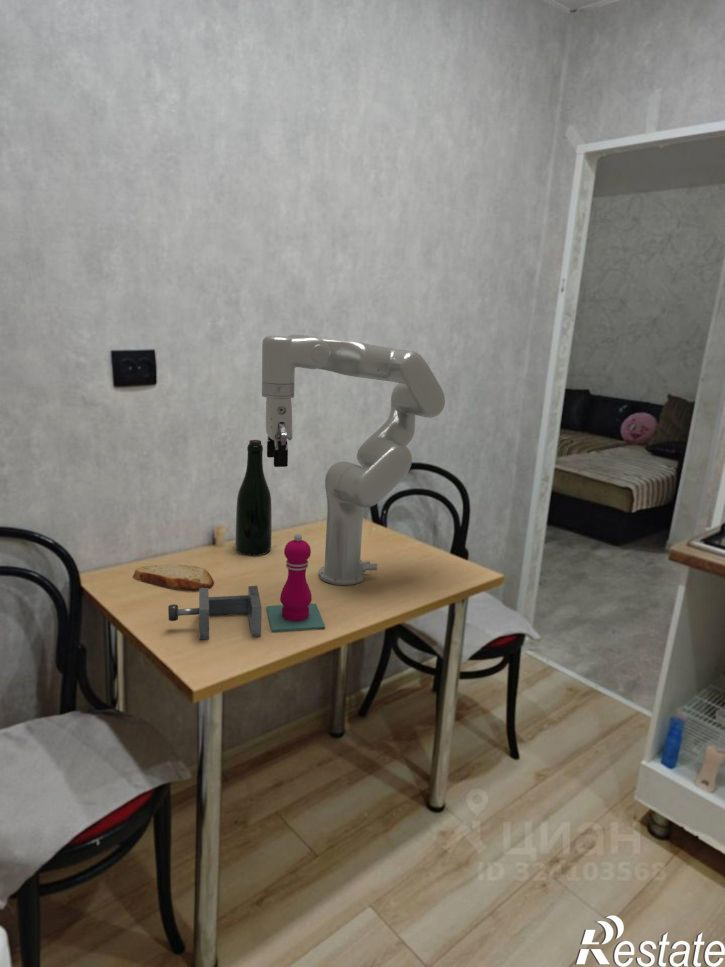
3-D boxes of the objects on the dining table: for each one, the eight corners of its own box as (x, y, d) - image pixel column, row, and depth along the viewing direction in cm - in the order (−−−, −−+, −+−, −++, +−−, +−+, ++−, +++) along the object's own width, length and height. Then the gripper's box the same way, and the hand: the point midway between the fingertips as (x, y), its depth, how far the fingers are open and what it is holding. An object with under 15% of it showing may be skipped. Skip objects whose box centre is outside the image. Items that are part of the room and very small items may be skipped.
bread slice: (129, 574, 169) (129, 561, 168) (197, 564, 178) (197, 552, 177) (145, 601, 154) (144, 587, 153) (218, 589, 163) (218, 576, 162)
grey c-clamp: (256, 610, 152) (256, 583, 150) (260, 636, 140) (261, 606, 138) (170, 615, 147) (169, 586, 145) (167, 641, 135) (167, 611, 134)
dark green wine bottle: (245, 558, 183) (246, 445, 175) (229, 547, 191) (230, 438, 183) (277, 552, 189) (280, 442, 181) (261, 541, 197) (263, 435, 189)
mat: (315, 605, 156) (316, 603, 156) (325, 628, 145) (325, 626, 145) (266, 608, 153) (266, 605, 153) (271, 632, 142) (271, 629, 142)
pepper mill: (281, 623, 145) (283, 539, 140) (278, 609, 152) (280, 529, 147) (313, 621, 147) (316, 539, 142) (308, 607, 154) (311, 528, 149)
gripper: (301, 395, 143) (299, 470, 147) (287, 385, 159) (285, 453, 163) (268, 395, 141) (267, 471, 145) (256, 385, 157) (256, 454, 161)
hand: (276, 461), depth 154 cm, fingers open, 9 cm apart
